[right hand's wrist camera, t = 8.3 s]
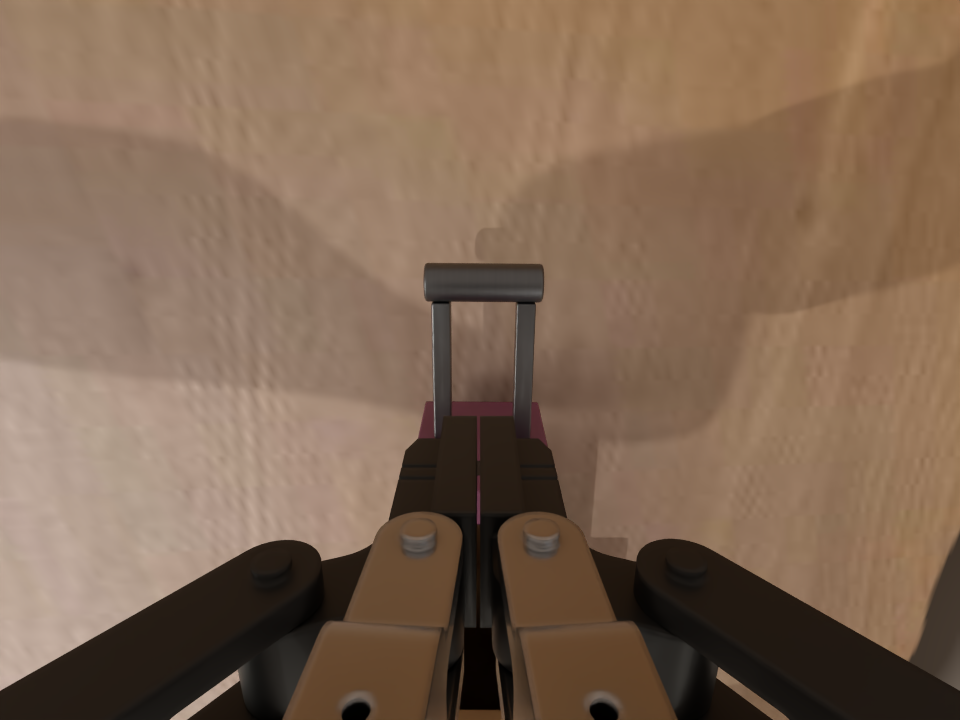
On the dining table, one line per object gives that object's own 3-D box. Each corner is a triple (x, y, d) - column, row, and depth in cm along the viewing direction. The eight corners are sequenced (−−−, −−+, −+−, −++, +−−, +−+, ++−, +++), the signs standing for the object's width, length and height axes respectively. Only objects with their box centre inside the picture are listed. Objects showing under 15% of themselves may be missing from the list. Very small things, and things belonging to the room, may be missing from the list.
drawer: (422, 248, 21) (398, 287, 15) (545, 249, 21) (571, 289, 15) (434, 740, 29) (422, 893, 23) (522, 740, 29) (533, 893, 23)
